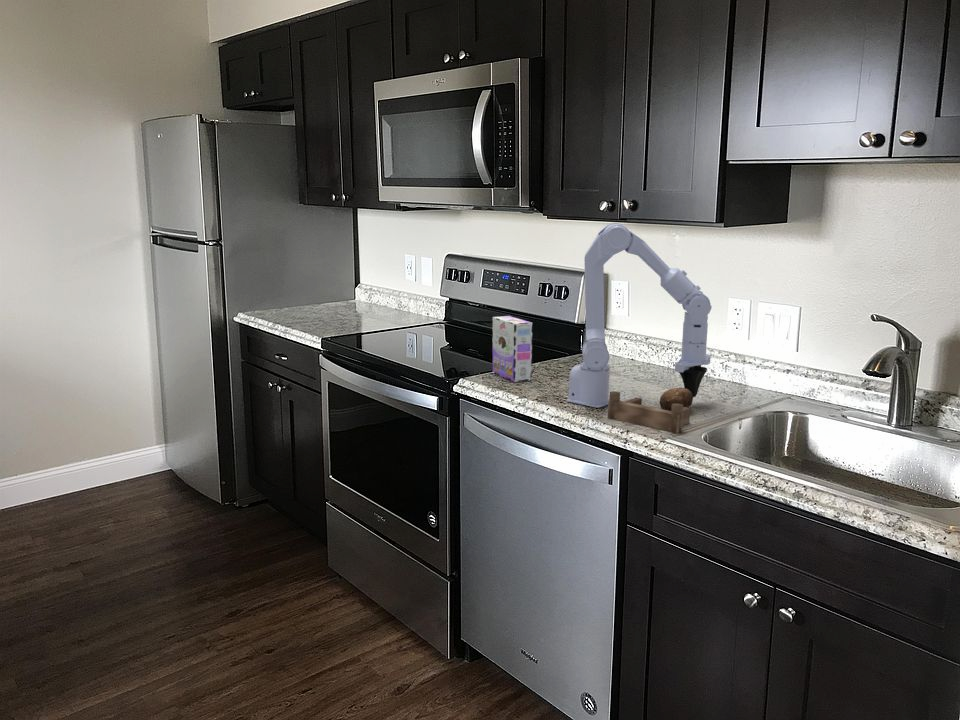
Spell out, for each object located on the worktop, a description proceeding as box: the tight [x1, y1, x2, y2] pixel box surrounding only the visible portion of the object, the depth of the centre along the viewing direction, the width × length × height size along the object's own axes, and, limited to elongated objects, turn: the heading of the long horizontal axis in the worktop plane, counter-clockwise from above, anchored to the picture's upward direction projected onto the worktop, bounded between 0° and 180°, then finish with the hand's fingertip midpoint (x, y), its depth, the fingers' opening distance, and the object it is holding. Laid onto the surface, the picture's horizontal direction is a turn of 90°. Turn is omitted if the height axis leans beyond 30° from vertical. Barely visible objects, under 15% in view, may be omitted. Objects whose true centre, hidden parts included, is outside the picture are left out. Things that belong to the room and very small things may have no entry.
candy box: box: [491, 315, 534, 383], centre depth 232 cm, size 14×6×16 cm, turn 25°
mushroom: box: [659, 387, 694, 411], centre depth 199 cm, size 8×8×6 cm
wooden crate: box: [607, 390, 691, 434], centre depth 190 cm, size 18×9×6 cm, turn 48°
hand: (691, 396), depth 204 cm, fingers closed
